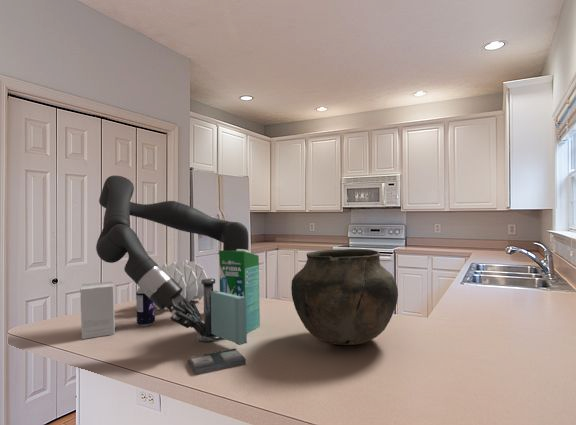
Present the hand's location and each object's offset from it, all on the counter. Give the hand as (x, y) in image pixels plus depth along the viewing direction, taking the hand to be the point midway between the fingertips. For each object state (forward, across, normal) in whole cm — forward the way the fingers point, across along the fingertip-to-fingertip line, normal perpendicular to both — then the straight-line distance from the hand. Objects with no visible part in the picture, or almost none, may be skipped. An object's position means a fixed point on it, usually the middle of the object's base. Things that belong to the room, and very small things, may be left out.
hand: (206, 333), depth 96 cm
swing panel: (+5, -4, +1) cm, 7 cm away
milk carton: (+7, -20, 0) cm, 21 cm away
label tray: (+6, +7, 0) cm, 10 cm away
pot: (+29, -7, +22) cm, 37 cm away
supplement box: (-23, -16, -31) cm, 42 cm away
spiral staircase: (-14, -50, -22) cm, 57 cm away
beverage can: (-16, -24, -23) cm, 37 cm away
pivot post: (+2, -11, -5) cm, 12 cm away
